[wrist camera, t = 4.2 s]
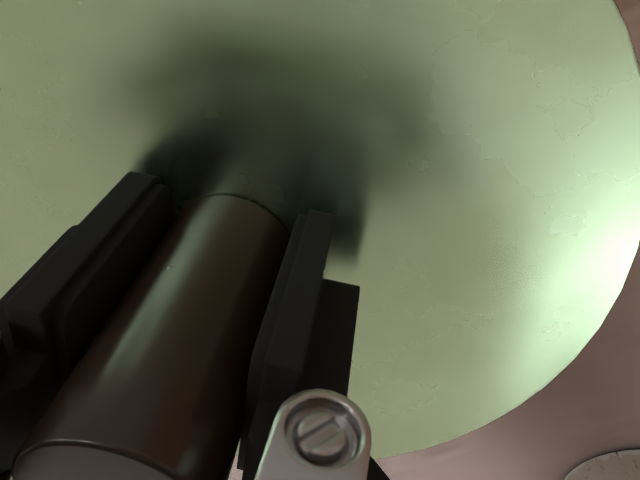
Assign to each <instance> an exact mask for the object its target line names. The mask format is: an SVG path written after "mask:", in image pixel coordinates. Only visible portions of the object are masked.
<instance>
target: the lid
mask: <svg viewBox="0 0 640 480" xmlns="http://www.w3.org/2000/svg"><path fill="white" fill-rule="evenodd" d="M130 171H135V172H139V173H144V174H148V175H153V176H158V177H159V178H160V179H161V182H162V185H166V186H168V188H169V193H170V228H169V230H168V231H167V233H166V234H165V235H164V237H163V238H162V240H161V241H160V243H159V244H158V246H157V247H156V249H155V250H154V252H153V253H152V255H151V256H150V257H149V259H148V260H147V262H146V263H145V265H144V266H143V268H142V269H141V271H140V272H139V274H138V275H137V277H136V278H135V280H134V281H133V282H132V284H131V285H130V287H129V288H128V290H127V291H126V293H125V294H124V296H123V297H122V299H121V300H120V302H119V303H118V304H117V306H116V307H115V309H114V310H113V312H112V313H111V315H110V316H109V318H108V319H107V321H106V322H105V324H104V325H103V326H102V328H101V329H100V331H99V332H98V334H97V335H96V337H95V338H94V340H93V341H92V343H91V344H90V346H89V347H88V348H87V350H86V351H85V353H84V354H83V356H82V357H81V359H80V360H79V362H78V363H77V365H76V366H75V368H74V369H73V370H72V372H71V373H70V375H69V376H68V378H67V379H66V381H65V382H64V384H63V385H62V387H61V388H60V390H59V391H58V392H57V394H56V395H55V397H54V398H53V400H52V401H51V403H50V404H49V406H48V407H47V409H46V410H45V412H44V413H43V414H42V416H41V417H40V419H39V420H38V422H37V423H36V425H35V426H34V428H33V429H32V431H31V432H30V434H29V435H28V436H27V438H26V439H25V441H24V442H23V444H22V445H21V447H20V448H19V450H18V451H17V453H16V454H15V456H14V459H13V462H12V478H13V480H228V478H229V474H230V471H231V468H232V464H233V461H234V458H235V455H236V456H238V454H239V446H240V438H241V434H242V431H243V427H244V405H245V397H246V388H247V380H248V372H249V366H250V361H251V357H252V353H253V349H254V345H255V342H256V339H257V336H258V333H259V330H260V327H261V324H262V321H263V318H264V315H265V312H266V309H267V306H268V303H269V300H270V297H271V294H272V291H273V288H274V285H275V282H276V279H277V276H278V273H279V270H280V267H281V264H282V261H283V258H284V254H285V251H286V248H287V245H288V242H289V239H290V236H291V233H292V230H293V227H294V224H295V221H296V218H297V215H298V214H300V215H305V216H308V214H309V211H310V209H311V210H316V211H320V212H325V213H329V214H334V215H336V218H335V223H334V227H333V232H332V237H331V241H330V246H329V250H328V255H327V260H326V264H325V269H324V273H323V278H325V279H329V280H334V281H338V282H343V283H348V284H352V285H357V286H360V295H359V303H358V311H357V320H356V328H355V336H354V344H353V353H352V361H351V369H350V377H349V386H348V394H347V398H349V399H350V400H351V401H353V402H354V403H355V404H357V405H358V407H359V408H360V409H361V410H362V412H363V413H364V414H365V416H366V417H367V420H368V423H369V425H370V428H371V440H372V445H371V452H370V456H371V457H372V458H373V459H379V458H386V457H391V456H396V455H400V454H405V453H409V452H414V451H419V450H422V449H425V448H428V447H431V446H435V445H438V444H441V443H444V442H447V441H450V440H453V439H456V438H458V437H460V436H462V435H465V434H467V433H469V432H472V431H474V430H476V429H479V428H481V427H483V426H485V425H487V424H489V423H491V422H493V421H494V420H496V419H498V418H500V417H501V416H503V415H505V414H507V413H508V412H510V411H512V410H514V409H515V408H517V407H518V406H520V405H521V404H523V403H524V402H525V401H527V400H528V399H529V398H531V397H532V396H533V395H535V394H536V393H538V392H539V391H540V390H542V389H543V388H544V387H546V386H547V385H548V384H549V383H550V382H551V381H552V380H553V379H554V378H555V377H557V376H558V375H559V374H560V373H561V372H562V371H563V370H564V369H565V368H566V367H567V366H568V365H569V364H570V363H571V362H572V361H573V360H574V359H575V358H576V357H577V356H578V355H579V353H580V352H581V351H582V350H583V348H584V347H585V346H586V345H587V343H588V342H589V341H590V340H591V338H592V337H593V336H594V335H595V333H596V332H597V331H598V330H599V328H600V327H601V326H602V324H603V322H604V320H605V319H606V317H607V315H608V314H609V312H610V310H611V308H612V307H613V305H614V303H615V302H616V300H617V298H618V297H619V295H620V293H621V291H622V289H623V287H624V284H625V282H626V279H627V277H628V274H629V272H630V269H631V267H632V264H633V262H634V259H635V257H636V254H637V251H638V249H639V245H640V68H639V65H638V61H637V58H636V54H635V51H634V48H633V44H632V41H631V37H630V34H629V31H628V27H627V25H626V23H625V21H624V19H623V17H622V15H621V13H620V11H619V9H618V7H617V5H616V3H615V1H614V0H0V299H1V298H2V297H3V296H4V295H5V294H6V293H7V292H8V291H9V290H10V289H11V288H12V286H13V285H14V284H15V283H16V282H17V281H18V280H19V279H20V278H21V277H22V276H23V275H24V274H25V273H26V272H27V271H28V270H29V269H30V268H31V267H32V266H33V265H34V264H35V263H36V262H37V261H38V260H39V259H40V257H41V256H42V255H43V254H44V253H45V252H46V251H47V250H48V249H49V248H50V247H51V246H52V245H53V244H54V243H55V242H56V241H57V240H58V239H59V238H60V237H61V236H62V235H63V234H64V233H65V232H66V231H67V230H68V229H69V228H70V227H72V226H74V225H78V224H79V223H80V222H81V221H82V220H83V219H84V218H85V217H86V216H87V215H88V214H89V213H90V212H91V211H92V210H93V209H94V208H95V207H96V205H97V204H98V203H99V202H100V201H101V200H102V199H103V198H104V197H105V196H106V195H107V194H108V193H109V192H110V191H111V190H112V189H113V188H114V187H115V185H116V184H117V183H118V182H119V181H120V180H121V179H122V178H123V177H124V176H125V175H126V174H127V173H128V172H130Z"/></svg>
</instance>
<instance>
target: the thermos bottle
mask: <svg viewBox="0 0 640 480" xmlns="http://www.w3.org/2000/svg"><path fill="white" fill-rule="evenodd" d="M564 480H640V449H638V450H624V451H618V452H613V453H608V454H605V455H601V456H598V457H595V458H592V459H590V460H588V461H586V462H583V463H582V464H580V465H579V466H577V467H576V468H574V469H573V470H572V471H571V472H570V473H569V474H568V475H567V476H566V477H565V479H564Z"/></svg>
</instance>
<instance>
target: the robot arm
mask: <svg viewBox="0 0 640 480" xmlns="http://www.w3.org/2000/svg"><path fill="white" fill-rule="evenodd" d="M335 218H336V215H334V214H329V213H325V212H320V211H316V210H311V209H310V211H309V214H308V216H305V215H300V214H298V215H297V218H296V221H295V224H294V227H293V230H292V233H291V236H290V239H289V242H288V245H287V248H286V251H285V254H284V258H283V261H282V264H281V267H280V270H279V273H278V276H277V279H276V282H275V285H274V288H273V291H272V294H271V297H270V300H269V303H268V306H267V309H266V312H265V315H264V318H263V321H262V324H261V327H260V330H259V333H258V336H257V339H256V342H255V345H254V349H253V353H252V357H251V361H250V366H249V372H248V380H247V388H246V397H245V405H244V427H243V431H242V434H241V438H240V446H239V454H238V462H237V469H240V470H243V476H242V480H390V479H389V478H388V477H387V475H386V474H385V473H384V472H383V471H382V469H381V468H380V467H379V466H378V464H377V463H376V462H375V461H374V459H373V458H372V457H371V456H370V452H371V445H372V440H371V428H370V425H369V423H368V420H367V417H366V416H365V414H364V413H363V412H362V410H361V409H360V408H359V407H358V405H357V404H355V403H354V402H353V401H351V400H350V399H349V398H347V394H348V386H349V377H350V369H351V361H352V353H353V344H354V336H355V328H356V320H357V311H358V303H359V295H360V286H357V285H352V284H348V283H343V282H338V281H334V280H329V279H325V278H323V273H324V269H325V264H326V260H327V255H328V250H329V246H330V241H331V237H332V232H333V227H334V223H335ZM169 228H170V193H169V188H168V186H166V185H162V182H161V179H160V178H159V177H158V176H153V175H148V174H144V173H139V172H135V171H130V172H128V173H127V174H126V175H125V176H124V177H123V178H122V179H121V180H120V181H119V182H118V183H117V184H116V185H115V187H114V188H113V189H112V190H111V191H110V192H109V193H108V194H107V195H106V196H105V197H104V198H103V199H102V200H101V201H100V202H99V203H98V204H97V205H96V207H95V208H94V209H93V210H92V211H91V212H90V213H89V214H88V215H87V216H86V217H85V218H84V219H83V220H82V221H81V222H80V223H79V224H78V225H74V226H72V227H70V228H69V229H68V230H67V231H66V232H65V233H64V234H63V235H62V236H61V237H60V238H59V239H58V240H57V241H56V242H55V243H54V244H53V245H52V246H51V247H50V248H49V249H48V250H47V251H46V252H45V253H44V254H43V255H42V256H41V257H40V259H39V260H38V261H37V262H36V263H35V264H34V265H33V266H32V267H31V268H30V269H29V270H28V271H27V272H26V273H25V274H24V275H23V276H22V277H21V278H20V279H19V280H18V281H17V282H16V283H15V284H14V285H13V286H12V288H11V289H10V290H9V291H8V292H7V293H6V294H5V295H4V296H3V297H2V298H1V299H0V480H13V478H12V462H13V459H14V456H15V454H16V453H17V451H18V450H19V448H20V447H21V445H22V444H23V442H24V441H25V439H26V438H27V436H28V435H29V434H30V432H31V431H32V429H33V428H34V426H35V425H36V423H37V422H38V420H39V419H40V417H41V416H42V414H43V413H44V412H45V410H46V409H47V407H48V406H49V404H50V403H51V401H52V400H53V398H54V397H55V395H56V394H57V392H58V391H59V390H60V388H61V387H62V385H63V384H64V382H65V381H66V379H67V378H68V376H69V375H70V373H71V372H72V370H73V369H74V368H75V366H76V365H77V363H78V362H79V360H80V359H81V357H82V356H83V354H84V353H85V351H86V350H87V348H88V347H89V346H90V344H91V343H92V341H93V340H94V338H95V337H96V335H97V334H98V332H99V331H100V329H101V328H102V326H103V325H104V324H105V322H106V321H107V319H108V318H109V316H110V315H111V313H112V312H113V310H114V309H115V307H116V306H117V304H118V303H119V302H120V300H121V299H122V297H123V296H124V294H125V293H126V291H127V290H128V288H129V287H130V285H131V284H132V282H133V281H134V280H135V278H136V277H137V275H138V274H139V272H140V271H141V269H142V268H143V266H144V265H145V263H146V262H147V260H148V259H149V257H150V256H151V255H152V253H153V252H154V250H155V249H156V247H157V246H158V244H159V243H160V241H161V240H162V238H163V237H164V235H165V234H166V233H167V231H168V230H169Z"/></svg>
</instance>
